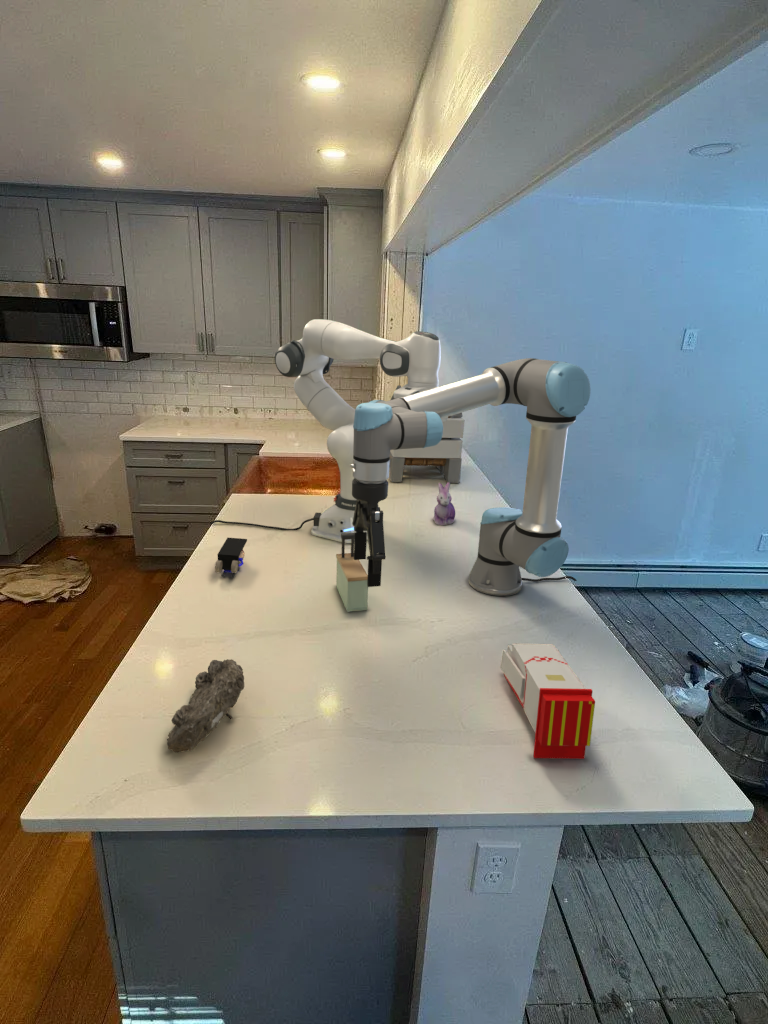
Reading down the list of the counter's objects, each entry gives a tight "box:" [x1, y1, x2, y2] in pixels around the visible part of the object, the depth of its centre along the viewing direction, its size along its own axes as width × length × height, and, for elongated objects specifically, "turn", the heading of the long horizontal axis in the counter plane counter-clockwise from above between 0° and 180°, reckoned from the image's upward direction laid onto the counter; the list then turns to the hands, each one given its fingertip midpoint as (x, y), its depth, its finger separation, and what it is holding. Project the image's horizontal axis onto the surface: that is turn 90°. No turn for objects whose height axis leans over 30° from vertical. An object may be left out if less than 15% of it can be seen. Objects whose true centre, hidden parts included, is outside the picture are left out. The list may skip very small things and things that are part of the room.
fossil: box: [166, 658, 245, 754], centre depth 106 cm, size 22×10×15 cm
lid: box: [335, 533, 368, 582], centre depth 151 cm, size 15×5×8 cm, turn 16°
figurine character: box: [214, 537, 248, 578], centre depth 166 cm, size 7×8×15 cm
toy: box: [499, 642, 596, 760], centre depth 113 cm, size 12×13×30 cm
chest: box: [335, 559, 369, 613], centre depth 153 cm, size 15×5×9 cm, turn 16°
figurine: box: [433, 482, 456, 526], centre depth 211 cm, size 9×10×15 cm
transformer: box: [388, 384, 465, 484], centre depth 268 cm, size 34×33×41 cm
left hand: (419, 439), depth 166 cm, fingers open, 8 cm apart
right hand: (366, 571), depth 125 cm, fingers open, 13 cm apart
